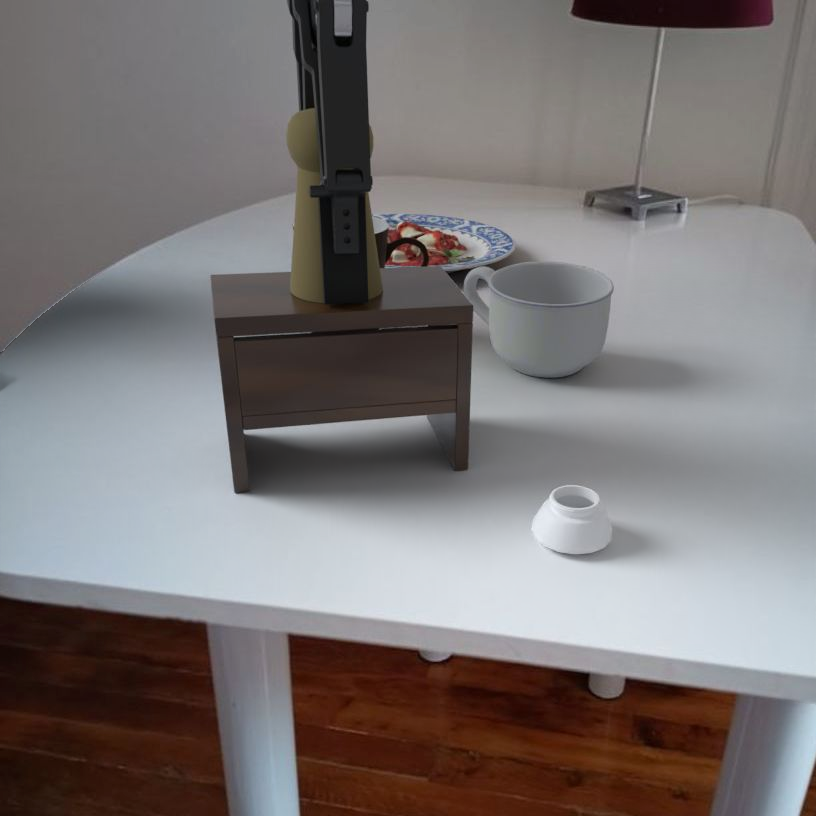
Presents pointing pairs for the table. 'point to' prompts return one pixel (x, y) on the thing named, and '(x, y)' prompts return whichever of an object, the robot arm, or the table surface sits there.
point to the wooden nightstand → (344, 357)
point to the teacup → (544, 315)
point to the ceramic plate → (446, 241)
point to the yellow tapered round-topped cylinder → (317, 215)
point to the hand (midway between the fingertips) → (338, 285)
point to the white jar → (572, 521)
